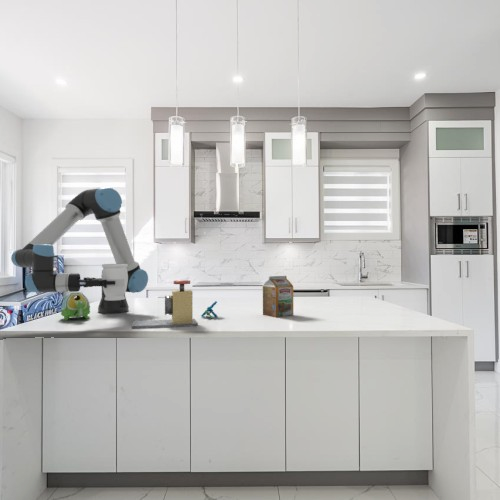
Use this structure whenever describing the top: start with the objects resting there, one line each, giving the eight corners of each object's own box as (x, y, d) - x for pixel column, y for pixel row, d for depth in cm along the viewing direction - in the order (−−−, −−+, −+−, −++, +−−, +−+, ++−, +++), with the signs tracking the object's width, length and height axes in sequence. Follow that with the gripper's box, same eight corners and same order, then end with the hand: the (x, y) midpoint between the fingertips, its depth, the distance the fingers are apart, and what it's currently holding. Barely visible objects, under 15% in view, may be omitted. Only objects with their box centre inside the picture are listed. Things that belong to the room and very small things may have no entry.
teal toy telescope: (204, 311, 191) (217, 297, 188) (213, 320, 190) (226, 306, 188) (196, 318, 180) (210, 303, 178) (205, 327, 180) (219, 312, 177)
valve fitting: (133, 323, 167) (133, 280, 167) (194, 320, 173) (194, 279, 174) (131, 328, 154) (132, 282, 155) (197, 325, 161) (197, 281, 161)
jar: (119, 301, 158) (119, 264, 158) (96, 300, 160) (96, 264, 161) (132, 298, 169) (132, 263, 169) (110, 298, 171) (111, 263, 171)
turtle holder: (65, 323, 168) (65, 295, 168) (58, 318, 183) (58, 292, 183) (95, 320, 175) (95, 294, 175) (86, 315, 190) (86, 291, 190)
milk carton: (275, 317, 182) (275, 276, 183) (262, 314, 191) (262, 275, 191) (293, 315, 188) (293, 276, 188) (280, 313, 197) (279, 275, 197)
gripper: (74, 289, 172) (127, 288, 177) (62, 294, 149) (122, 292, 154) (75, 272, 172) (127, 271, 177) (62, 274, 149) (122, 273, 154)
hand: (125, 281), depth 166 cm, fingers closed on jar, 10 cm apart
